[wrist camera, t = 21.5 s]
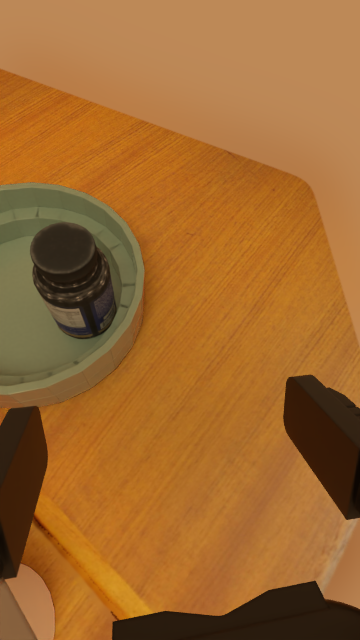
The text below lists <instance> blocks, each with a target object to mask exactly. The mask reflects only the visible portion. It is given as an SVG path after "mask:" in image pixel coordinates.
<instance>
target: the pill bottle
mask: <svg viewBox="0 0 360 640" xmlns="http://www.w3.org/2000/svg"><path fill="white" fill-rule="evenodd" d="M30 255H31V259H32V261H33V263H34V266H33V271H32V276H33V282H34V285H35V287H36V289H37V291H38V292H39V294H40V296H41V297H42V299H43V301H44V303H45V304H46V306H47V308H48V310H49V311H50V313H51V315H52V317H53V318H54V320H55V322H56V323H57V325H58V327H59V329H60V330H62V331H63V332H64V333H65V334H66V335H68V336H70V337H73V338H77V339H90V338H93V337H96V336H98V335H100V334H102V333H104V332H105V331H106V330H107V329H108V328H109V327H110V326H111V324H112V322H113V319H114V317H115V315H116V309H117V307H116V302H115V297H114V291H113V286H112V280H111V274H110V267H109V264H108V260H107V258H106V257H105V255H104V253H103V252H102V251H101V250H100V249H99V248H98V247H97V246H96V244H95V240H94V238H93V236H92V234H91V233H90V232H89V231H88V230H87V229H86V228H84V227H82V226H80V225H78V224H75V223H70V222H61V223H55V224H51V225H49V226H47V227H45V228H43V229H42V230H40V231H39V232H38V233H37V234H36V236H34V238H33V240H32V242H31V245H30Z"/></svg>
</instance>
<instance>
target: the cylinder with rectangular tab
mask: <svg viewBox="0 0 360 640" xmlns="http://www.w3.org/2000/svg"><path fill="white" fill-rule="evenodd" d="M5 581H6V583H7V584H8V586H9V588H10V590H11V592H12V593H13V595H14V597H15V599H16V601H17V602H18V604H19V606H20V608H21V610H22V612H23V613H24V615H25V617H26V619H27V621H28V623H29V624H30V626H31V628H32V630H33V632H34V634H35V635H36V637H37V639H38V640H53V638H54V633H55V610H54V606H53V602H52V598H51V594H50V592H49V590H48V588H47V586H46V585H45V583H44V581H43V579H42V578H41V577H40V576H39V575H38V574H37V573H36V572H35V571H34V570H33V569H31V568H30V567H28V566H26V565H24V564H21V563H20V567H19V571H18V574H17V577H16V578H10V579H5Z"/></svg>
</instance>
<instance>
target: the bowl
mask: <svg viewBox="0 0 360 640" xmlns="http://www.w3.org/2000/svg"><path fill="white" fill-rule="evenodd" d="M61 222H70V223H75V224H78V225H80V226H82V227H84V228H86V229H87V230H88V231H89V232H90V233H91V234H92V236H93V238H94V240H95V244H96V246H97V247H98V248H99V249H100V250H101V251H102V252H103V253H104V255H105V257H106V258H107V260H108V264H109V267H110V274H111V280H112V286H113V291H114V297H115V302H116V307H117V309H116V315H115V317H114V319H113V322H112V324H111V326H110V327H109V328H108V329H107V330H106V331H105V332H104V333H102V334H100V335H98V336H96V337H93V338H90V339H77V338H73V337H70V336H68V335H66V334H65V333H64V332H63V331H62V330H60V329H59V327H58V325H57V323H56V322H55V320H54V318H53V317H52V315H51V313H50V311H49V310H48V308H47V306H46V304H45V303H44V301H43V299H42V297H41V296H40V294H39V292H38V291H37V289H36V287H35V285H34V282H33V276H32V271H33V266H34V263H33V261H32V259H31V255H30V245H31V242H32V240H33V238H34V236H36V234H37V233H38V232H39V231H40V230H42V229H43V228H45V227H47V226H49V225H51V224H55V223H61ZM144 300H145V268H144V264H143V259H142V255H141V250H140V246H139V243H138V242H137V240H136V238H135V236H134V235H133V233H132V231H131V230H130V228H129V226H128V224H127V223H126V222H125V221H124V220H123V219H122V218H121V217H120V216H119V215H118V214H117V213H116V212H115V211H114V210H113V209H112V208H111V207H109V206H108V205H106V204H105V203H103V202H101V201H99V200H97V199H96V198H94V197H92V196H90V195H89V194H87V193H84V192H81V191H78V190H74V189H71V188H68V187H64V186H61V185H54V184H43V183H33V182H32V183H31V182H30V183H19V184H7V185H0V407H1V408H19V407H28V406H37V407H41V406H46V405H51V404H56V403H61V402H63V401H65V400H68V399H70V398H72V397H74V396H76V395H78V394H80V393H82V392H85V391H87V390H89V389H91V388H92V387H94V386H95V385H96V384H97V383H99V382H100V381H101V380H102V379H104V378H105V377H106V376H107V375H109V374H110V373H111V372H112V371H114V370H115V369H116V368H117V366H118V365H119V364H120V362H121V361H122V360H123V358H124V357H125V356H126V354H127V353H128V352H129V350H130V349H131V348H132V346H133V344H134V342H135V339H136V337H137V334H138V332H139V329H140V327H141V324H142V321H143V311H144Z"/></svg>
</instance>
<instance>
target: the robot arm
mask: <svg viewBox="0 0 360 640" xmlns="http://www.w3.org/2000/svg"><path fill="white" fill-rule="evenodd" d="M283 419H284V426H285V429H286V432H287V434H288V436H289V437H290V439H291V440H292V442H293V443H294V445H295V446H296V447H297V449H298V450H299V452H300V453H301V455H302V456H303V458H304V459H305V460H306V462H307V463H308V465H309V466H310V468H311V469H312V471H313V472H314V473H315V475H316V476H317V478H318V479H319V481H320V482H321V484H322V485H323V487H324V488H325V489H326V491H327V492H328V494H329V495H330V497H331V498H332V500H333V501H334V502H335V504H336V505H337V507H338V508H339V510H340V511H341V513H342V514H343V515H344V517H345V518H346V520H349V519H355V518H360V409H359V408H358V407H356V406H355V404H354V403H353V402H352V401H350V400H349V399H348V398H347V397H346V396H345V395H343V394H341V393H339V392H337V391H335V390H333V389H331V388H326V387H325V386H324V385H323V384H322V383H321V382H320V381H319V380H317V379H316V378H315V377H314V376H313V375H303V376H295V377H289V378H288V379H287V382H286V391H285V403H284V415H283ZM47 461H48V451H47V444H46V439H45V435H44V430H43V425H42V420H41V415H40V411H39V408H38V407H37V406H28V407H19V408H11V409H9V411H8V412H7V414H6V416H5V418H4V420H3V422H2V424H1V426H0V640H38V639H37V637H36V635H35V634H34V632H33V630H32V628H31V626H30V624H29V623H28V621H27V619H26V617H25V615H24V613H23V612H22V610H21V608H20V606H19V604H18V602H17V601H16V599H15V597H14V595H13V593H12V592H11V590H10V588H9V586H8V584H7V583H6V581H5V579H10V578H16V577H17V574H18V571H19V567H20V563H21V560H22V556H23V552H24V549H25V545H26V541H27V538H28V534H29V530H30V527H31V523H32V520H33V516H34V512H35V509H36V505H37V501H38V498H39V494H40V490H41V487H42V483H43V479H44V476H45V472H46V468H47ZM112 640H360V609H358V608H356V607H353V606H351V605H348V604H345V603H342V602H337V601H333V600H326V599H324V597H323V595H322V593H321V591H320V589H319V587H318V585H317V583H316V581H312V582H307V583H302V584H297V585H292V586H287V587H282V588H277V589H272V590H268V591H266V592H265V593H263V594H261V595H259V596H258V597H256V598H254V599H252V600H250V601H249V602H247V603H245V604H243V605H242V606H240V607H238V608H236V609H235V610H233V611H231V612H229V613H227V614H225V615H222V616H212V615H201V614H191V613H181V612H170V611H163V612H158V613H153V614H148V615H144V616H139V617H134V618H129V619H124V620H119V621H114V622H113V629H112Z"/></svg>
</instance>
